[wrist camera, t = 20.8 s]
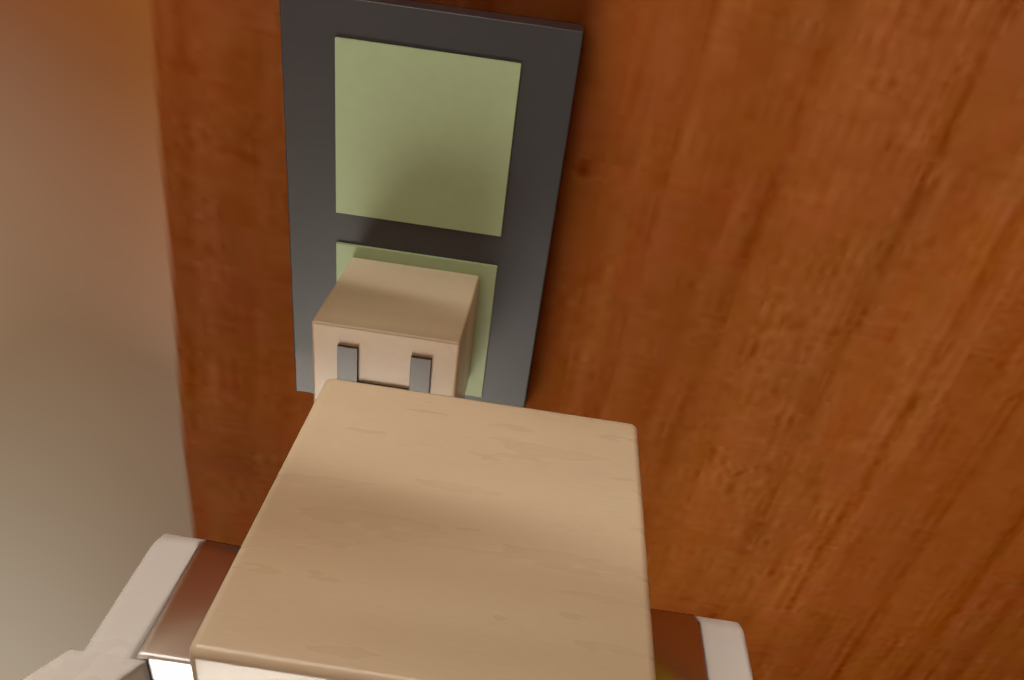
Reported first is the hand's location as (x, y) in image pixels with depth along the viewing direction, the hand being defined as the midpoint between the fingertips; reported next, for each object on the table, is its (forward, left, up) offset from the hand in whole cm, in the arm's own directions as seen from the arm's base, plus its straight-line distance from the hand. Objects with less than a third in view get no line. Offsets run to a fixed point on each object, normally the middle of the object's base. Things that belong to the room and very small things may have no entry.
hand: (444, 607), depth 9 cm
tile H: (-5, +3, -15) cm, 16 cm away
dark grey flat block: (-2, +3, -16) cm, 16 cm away
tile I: (0, 0, -2) cm, 2 cm away
